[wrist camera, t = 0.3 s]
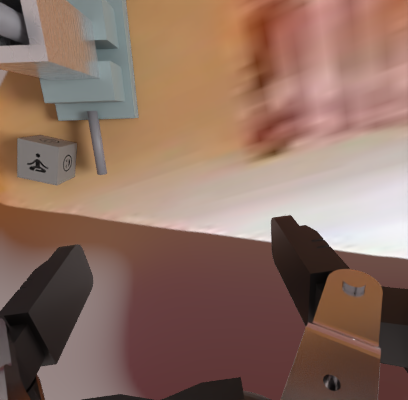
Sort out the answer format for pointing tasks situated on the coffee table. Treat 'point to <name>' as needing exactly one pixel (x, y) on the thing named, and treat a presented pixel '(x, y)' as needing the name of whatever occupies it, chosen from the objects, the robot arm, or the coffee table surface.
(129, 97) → the vise
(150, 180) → the coffee table surface
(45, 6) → the steel sleeve
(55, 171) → the dice cube
